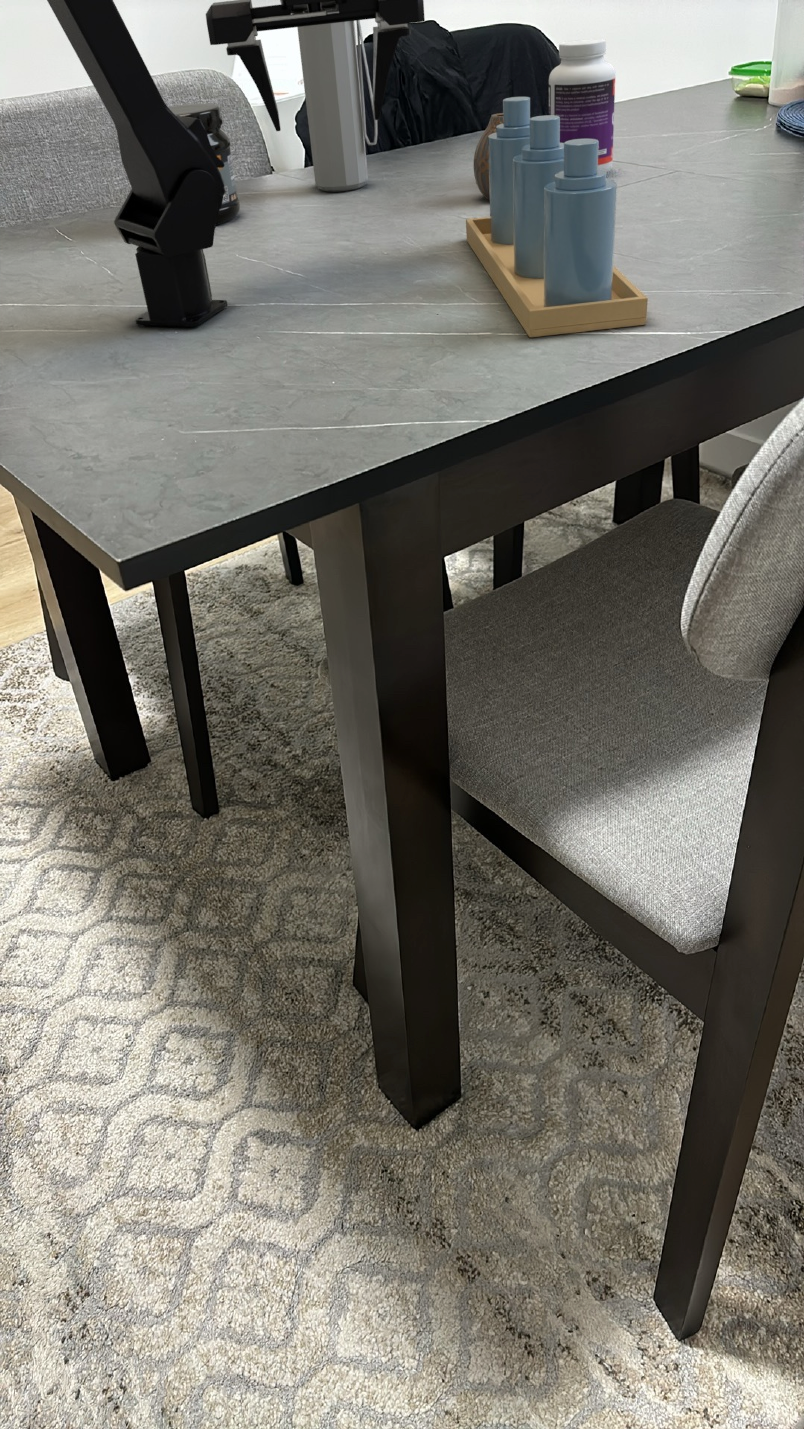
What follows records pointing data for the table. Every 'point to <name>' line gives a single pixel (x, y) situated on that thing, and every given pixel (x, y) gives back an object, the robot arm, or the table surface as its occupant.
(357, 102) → the water bottle
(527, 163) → the loose bottle
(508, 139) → the bottle
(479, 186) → the vase
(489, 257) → the tray
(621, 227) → the table surface
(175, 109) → the supplement container
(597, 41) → the pill bottle
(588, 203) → the bottle
